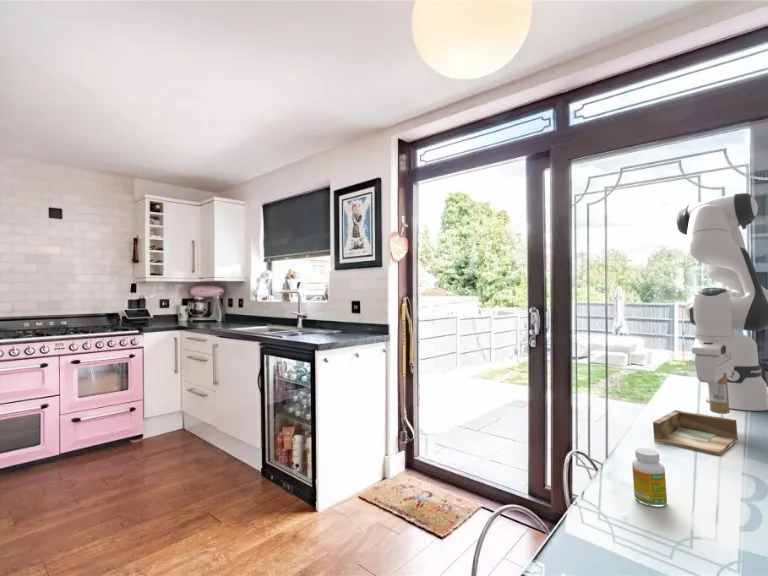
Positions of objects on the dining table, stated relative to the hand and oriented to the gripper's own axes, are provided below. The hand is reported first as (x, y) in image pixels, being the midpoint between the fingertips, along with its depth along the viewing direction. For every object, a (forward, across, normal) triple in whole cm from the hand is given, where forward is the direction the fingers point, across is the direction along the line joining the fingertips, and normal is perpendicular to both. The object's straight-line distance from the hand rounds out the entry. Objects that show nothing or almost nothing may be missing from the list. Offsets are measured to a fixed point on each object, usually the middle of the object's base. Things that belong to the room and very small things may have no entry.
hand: (718, 392), depth 115 cm
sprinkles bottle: (+6, 0, 0) cm, 6 cm away
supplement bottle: (+9, +57, +3) cm, 58 cm away
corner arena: (+10, +14, -2) cm, 18 cm away
